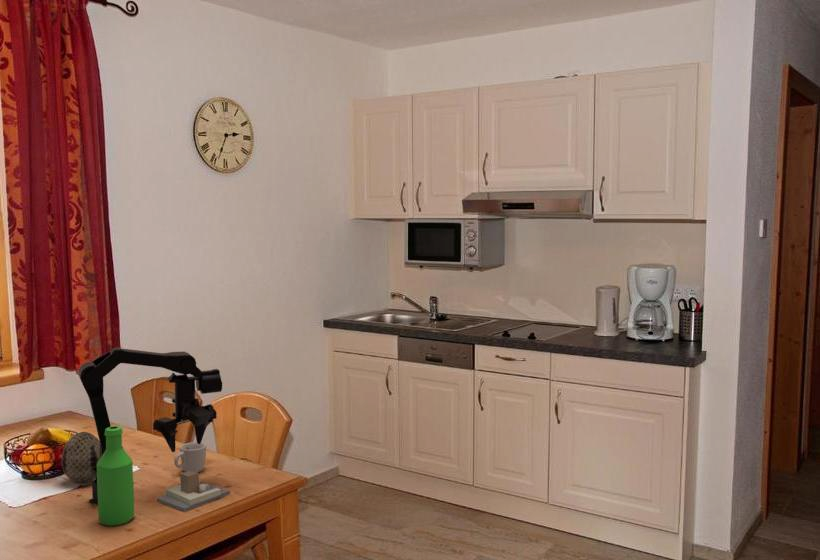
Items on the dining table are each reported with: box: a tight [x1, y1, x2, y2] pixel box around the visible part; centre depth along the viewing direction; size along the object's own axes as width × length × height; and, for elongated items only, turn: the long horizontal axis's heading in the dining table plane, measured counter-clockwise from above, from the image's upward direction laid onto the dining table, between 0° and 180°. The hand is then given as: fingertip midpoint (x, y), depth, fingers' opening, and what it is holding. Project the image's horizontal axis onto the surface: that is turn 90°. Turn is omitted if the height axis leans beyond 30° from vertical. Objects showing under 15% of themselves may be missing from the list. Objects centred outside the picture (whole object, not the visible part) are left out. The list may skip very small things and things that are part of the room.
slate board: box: [156, 481, 231, 513], centre depth 216 cm, size 16×12×4 cm
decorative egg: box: [61, 431, 100, 484], centre depth 227 cm, size 12×12×15 cm
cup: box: [173, 441, 207, 473], centre depth 236 cm, size 11×8×8 cm
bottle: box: [97, 425, 135, 527], centre depth 199 cm, size 9×9×25 cm
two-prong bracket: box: [164, 470, 221, 505], centre depth 215 cm, size 10×12×7 cm
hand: (186, 447), depth 223 cm, fingers open, 9 cm apart
